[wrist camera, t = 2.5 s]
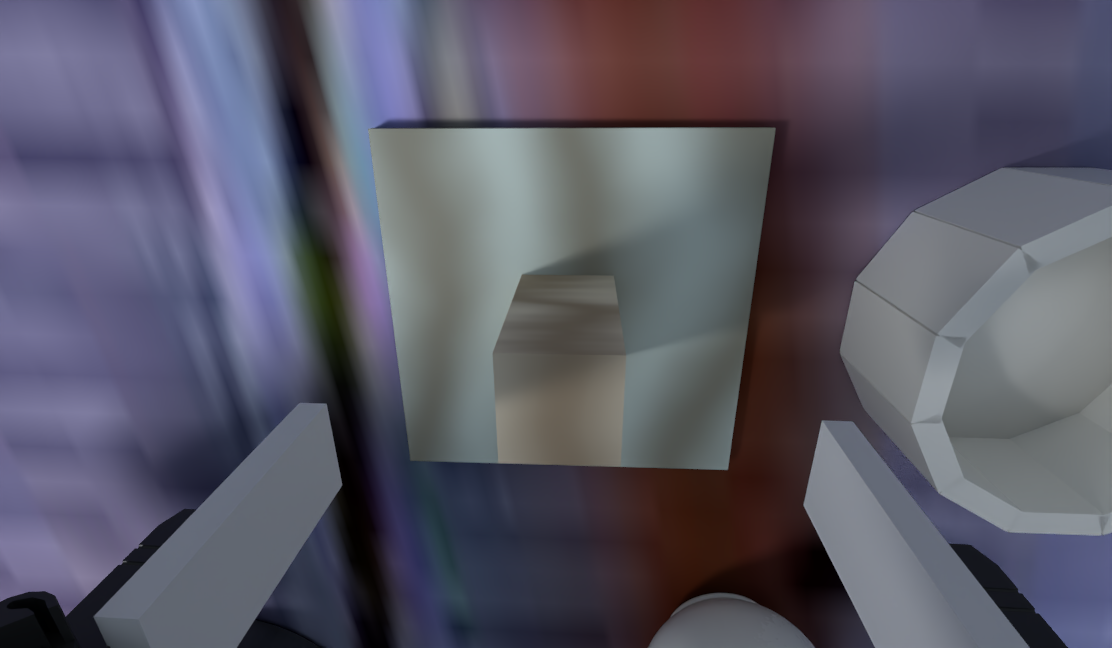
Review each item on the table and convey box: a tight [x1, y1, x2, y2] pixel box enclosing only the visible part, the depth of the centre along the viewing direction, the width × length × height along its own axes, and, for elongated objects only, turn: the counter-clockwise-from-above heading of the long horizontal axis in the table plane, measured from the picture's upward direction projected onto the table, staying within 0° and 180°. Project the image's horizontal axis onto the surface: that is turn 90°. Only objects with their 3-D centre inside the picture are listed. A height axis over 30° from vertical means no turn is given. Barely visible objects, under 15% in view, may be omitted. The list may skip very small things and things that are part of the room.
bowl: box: [839, 167, 1112, 536], centre depth 21 cm, size 13×13×6 cm
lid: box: [368, 127, 776, 470], centre depth 21 cm, size 16×16×9 cm
